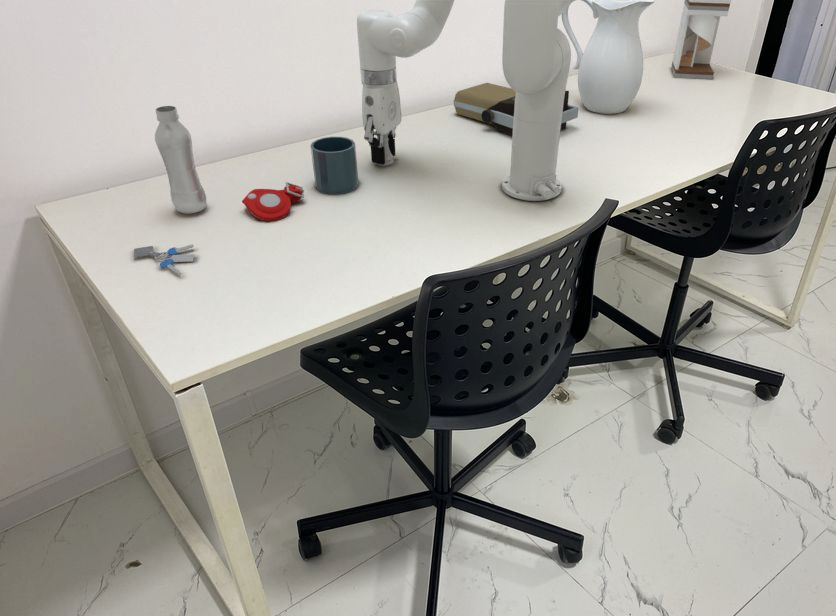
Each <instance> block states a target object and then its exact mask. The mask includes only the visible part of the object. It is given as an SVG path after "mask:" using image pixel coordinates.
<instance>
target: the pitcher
mask: <svg viewBox="0 0 836 616" xmlns="http://www.w3.org/2000/svg"><path fill="white" fill-rule="evenodd" d="M575 1H576V0H571V1H570V4H569V6H568V7H567V9H566V10H565V11H564V12H563V13H562V14H561V22H562V25H563V28H564V29H565V32H566V34H567V37H568V39H569V40H570V41H571V43H572V45H573V47H574V49H575V52H576V63H575V64H574V65H573V68H572V69H573V70H576V71H577V70H578V72H577V88H578V93H579V96H580V99H581V101H582V103H583V106H584V107H585V109H587V110H588V111H590V112H594V113H598V114H602V115H603V114H605V115H616V114H620V113H622V112H625V111H626V110H627V109H628V108H629V107H630V105H631V104H632V103H633V101H634V100H635V98H636V96H637V95H638V93H639V90H640V87H641V85H642V82H643V81H642V80H643V75H644V51H643V47H642V42H641V35H640V32H639V22H640V17H641V15H642V14H643V12H644V11H645V10H647V8H649V7H650V6H651V5H653V4H654V3H655V0H620V1H619V0H581V2H584V3H585V4H587V6H588V7H589V8H590V9H591V11H592V16H593V19H597V22H596V24H595V28H594V30H593V32H592V34H591V36H590V38H589V39H588V42H587V44H586V46H585V48H584V51H583V50H582V47H581V46H580V44H579V41H578V39H577V37H576V36H575V34H574V31H573V29H572V26H571V24H570V21H569V8H570V6H571V4H572V3H574V2H575Z"/></svg>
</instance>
